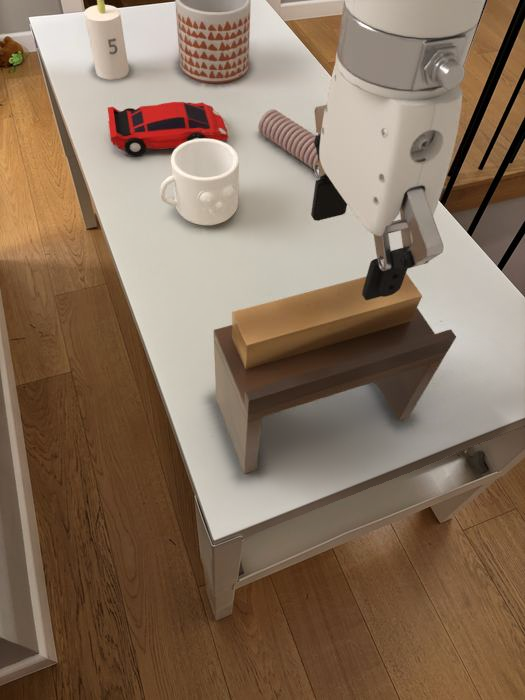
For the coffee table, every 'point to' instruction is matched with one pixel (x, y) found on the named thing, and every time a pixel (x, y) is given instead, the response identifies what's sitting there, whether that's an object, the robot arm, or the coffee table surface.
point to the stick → (317, 320)
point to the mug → (204, 181)
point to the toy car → (164, 126)
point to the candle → (106, 41)
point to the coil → (289, 136)
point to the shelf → (324, 377)
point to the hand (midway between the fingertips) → (352, 252)
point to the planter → (213, 38)
